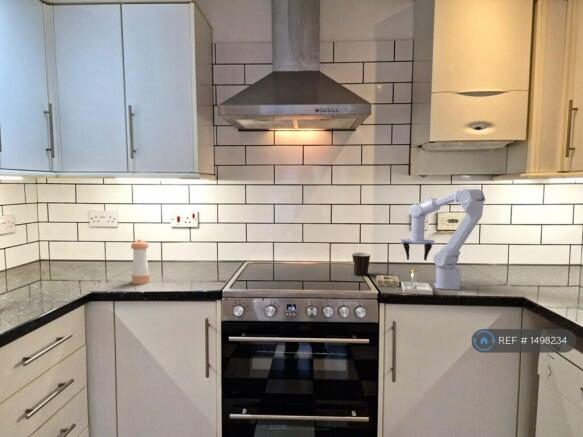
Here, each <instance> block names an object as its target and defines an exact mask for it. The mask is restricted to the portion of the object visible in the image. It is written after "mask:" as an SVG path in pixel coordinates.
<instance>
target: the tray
mask: <svg viewBox="0 0 583 437" xmlns="http://www.w3.org/2000/svg"><path fill="white" fill-rule="evenodd" d="M400 288H401V289H402V292H403V294H406V295H408V294H409V295H424V296H433V294H434V293H433V292H434V290H433V288H432V287H431V286H430V284H429V283H428V282H417V289H411V281H401V282H400Z"/></svg>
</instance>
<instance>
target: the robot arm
mask: <svg viewBox="0 0 583 437" xmlns="http://www.w3.org/2000/svg"><path fill="white" fill-rule="evenodd" d="M485 201H486V197H485V194H484V192H483V190H482V189H478V188H473V189H471V188H469V189H468V188H463V189H460V190H456V191H454V192H452V193H450V194H447V195H445V196H443V197H441V198H439V199H437V198H433V197H430V198H428V199H427V200H425V201H420V202H419V204H418V203H417V204H415V203H414V204H412V205H411V206H410V207H409V210H408V211H409V212H408V213H409V215H410V216H411V224H410V225H411V226H410V238H402V239H400V244H401V245H403V248H404V250H405V255H406V260H408V261H409V260H410V249H411V248H410V247H411V246H410V245H424V246H423V247H424V251H423V252H424V254H423V260H424V261H427V260H428V256H429V253H430V251H431V250H432V248H433V246H435V240H433V239H425V226H426V225H425V224H426V217H427V215H429V214H432V213H435V212H438V211H440V210H441V207H443V206H446V205H448V204H451V203H458V204H460V206H461V208H462V209H463V210H464V212H465V215H464V217H463V218H462V220H461V222H460V223H459V224H458V226H457V228H456V229H455V231H454V232H453V233H452V235H451V237H450V238H449V240H448V242H447V243H446V245H444V246H443V247H442V248H440V250H439V251H437V252H436V253H434V255H433V259H432V260H433V263H434V265H435V267H436V268H435V271H436V273H435V282H433V286H434V287H435V288H436V289H437V290H439V289H440V290H455V291H457V290H458V291H460V290H461V275H462V274H461V269H460V267H458V266H456V264H457V263H458V262H459V256H460V255H461V251H460V250H461V249H462V247H463V245H464V244H465V242H466V241H467V239H468V237H469V236H470V235H471V233H472V232H473V230H474V229H475V227H476V226H477V224H479V222H480V220H481V219H482V216H483V213H484V212H483V211H484V204H485Z"/></svg>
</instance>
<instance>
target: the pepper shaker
mask: <svg viewBox="0 0 583 437" xmlns="http://www.w3.org/2000/svg"><path fill="white" fill-rule="evenodd" d="M130 248H131V249H132V250H133V251H132V252H133V255H132V256H133V257H132V258H133V261H132V268H131V270H132V275H131V284H133V285H144V284H148V283H150V282H151V281H150V280H151V279H150V278H151V277H150V273H149V263H148V262H149V261H148V255H147V253H148V252H147V249H148V248H149V244H148V242H147V241H145V240H144V241H143V240H142V239H140V238H139V239H137V241H136V240H135V241H134V242H132V243H131V245H130Z"/></svg>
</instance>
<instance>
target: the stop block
mask: <svg viewBox="0 0 583 437" xmlns="http://www.w3.org/2000/svg"><path fill="white" fill-rule="evenodd" d="M376 285H377V286H378V287H392V288H393V287H394V288H399V287H400V280H399V278H398V276H395V275H381V274H379V275H376Z"/></svg>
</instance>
